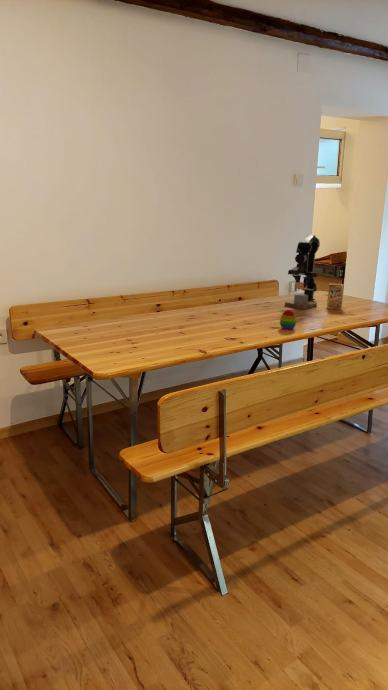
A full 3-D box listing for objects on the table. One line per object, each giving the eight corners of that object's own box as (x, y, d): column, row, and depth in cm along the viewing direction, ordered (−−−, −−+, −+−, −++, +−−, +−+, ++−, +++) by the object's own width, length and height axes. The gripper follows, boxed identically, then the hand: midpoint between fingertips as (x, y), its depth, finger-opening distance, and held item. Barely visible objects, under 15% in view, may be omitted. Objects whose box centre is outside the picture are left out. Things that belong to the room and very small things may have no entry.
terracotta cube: (300, 287, 322) (300, 281, 321) (306, 289, 318) (307, 282, 317) (295, 288, 318) (295, 282, 317) (301, 289, 315) (302, 283, 314)
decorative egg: (276, 327, 267) (277, 308, 264) (289, 326, 270) (291, 307, 267) (285, 331, 260) (286, 312, 257) (298, 329, 263) (300, 310, 260)
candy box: (326, 308, 316) (328, 284, 312) (327, 307, 320) (329, 283, 316) (341, 309, 314) (343, 285, 309) (341, 308, 317) (344, 284, 313)
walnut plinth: (299, 303, 330) (299, 299, 330) (316, 307, 320) (316, 303, 319) (284, 306, 322) (285, 302, 321) (302, 309, 311) (302, 305, 311)
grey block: (300, 301, 324) (300, 293, 323) (307, 302, 320) (308, 295, 318) (294, 302, 320) (294, 294, 319) (301, 304, 316) (302, 296, 315)
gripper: (283, 261, 316) (281, 286, 320) (306, 264, 302) (304, 290, 306) (294, 260, 323) (293, 284, 327) (318, 263, 309) (316, 288, 313)
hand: (301, 287), depth 318 cm, fingers closed on terracotta cube, 5 cm apart
